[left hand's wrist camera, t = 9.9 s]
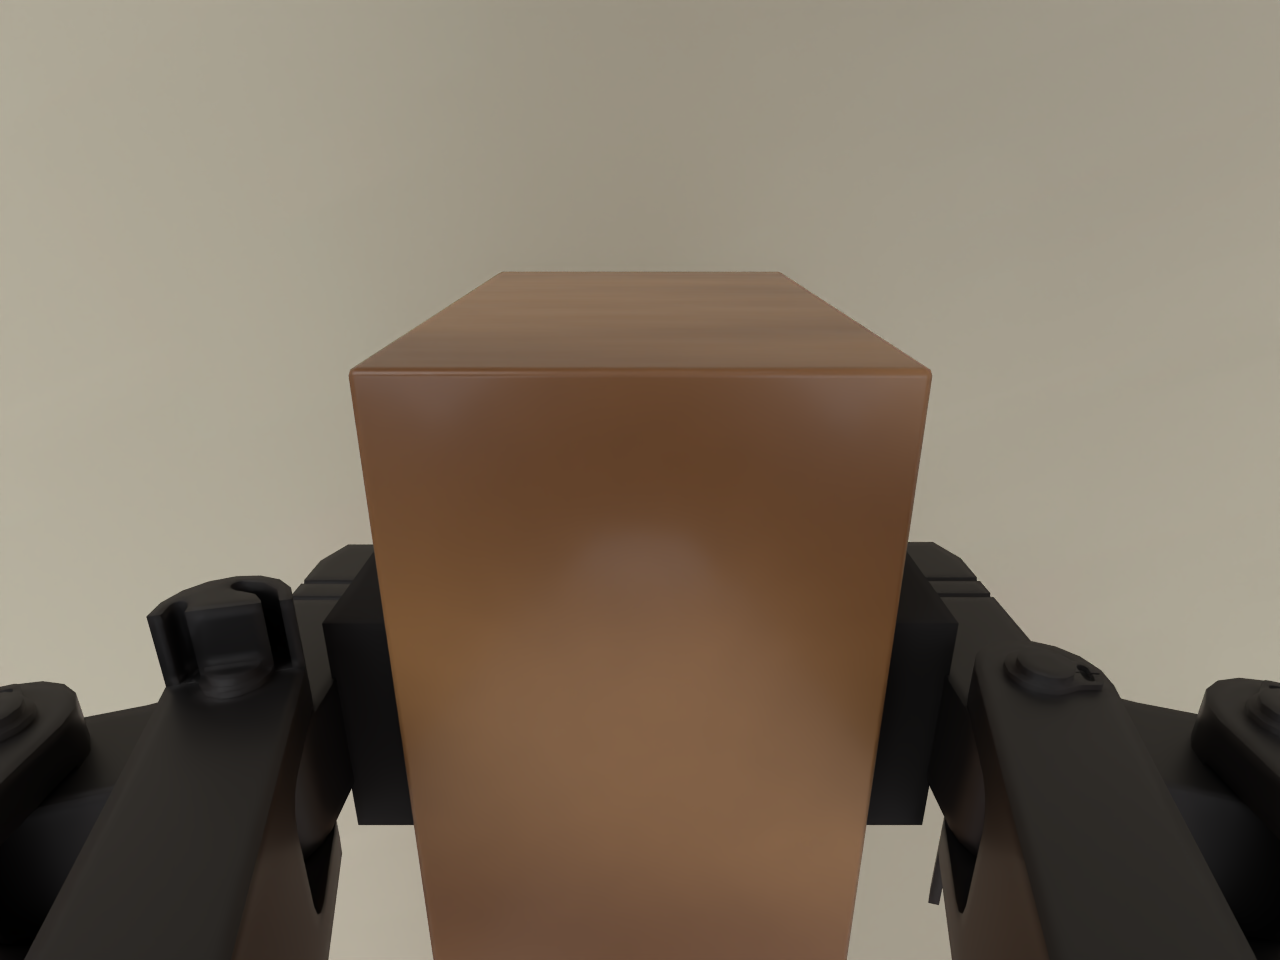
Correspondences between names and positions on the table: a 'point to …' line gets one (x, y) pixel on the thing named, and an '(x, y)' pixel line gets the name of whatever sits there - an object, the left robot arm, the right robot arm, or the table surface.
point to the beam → (640, 607)
